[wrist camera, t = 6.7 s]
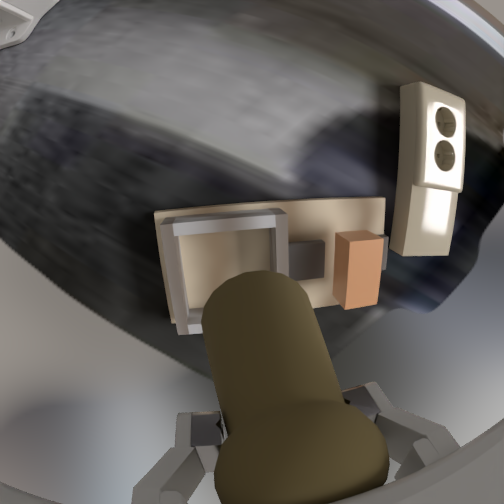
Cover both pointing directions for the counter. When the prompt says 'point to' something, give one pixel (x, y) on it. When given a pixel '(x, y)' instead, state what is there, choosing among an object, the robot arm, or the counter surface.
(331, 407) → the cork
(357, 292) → the block
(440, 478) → the robot arm
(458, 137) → the electrical outlet
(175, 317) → the rail panel
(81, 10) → the counter surface
